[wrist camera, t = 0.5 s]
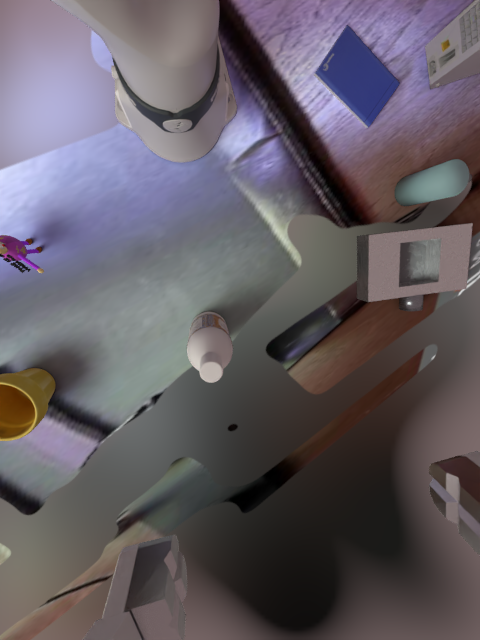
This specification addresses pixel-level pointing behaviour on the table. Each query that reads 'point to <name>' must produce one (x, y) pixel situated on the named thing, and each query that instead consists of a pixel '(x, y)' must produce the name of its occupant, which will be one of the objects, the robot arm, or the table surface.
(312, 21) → the table surface
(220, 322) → the bath foam
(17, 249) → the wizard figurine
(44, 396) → the plant pot
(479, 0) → the game console
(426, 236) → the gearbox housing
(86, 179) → the table surface
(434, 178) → the toggle switch lever
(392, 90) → the hard drive
